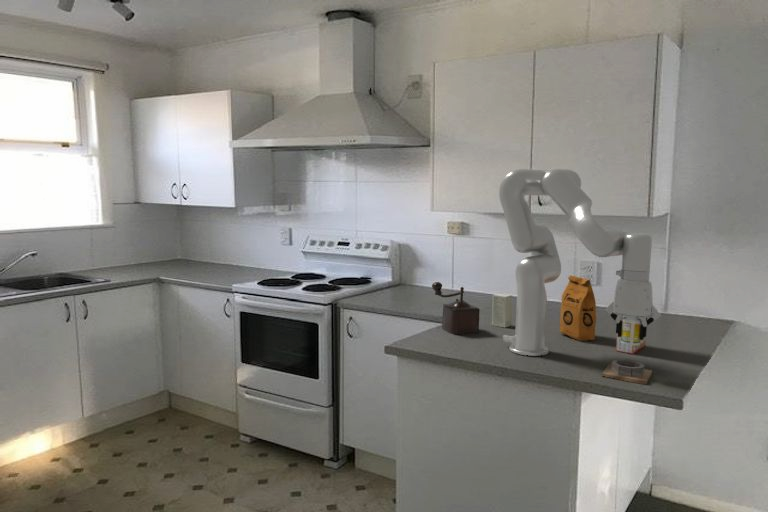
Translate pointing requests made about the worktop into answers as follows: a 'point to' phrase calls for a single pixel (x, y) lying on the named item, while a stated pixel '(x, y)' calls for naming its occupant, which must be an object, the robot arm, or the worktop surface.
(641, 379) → the socket board
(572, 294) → the coffee package
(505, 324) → the skincare box
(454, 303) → the manual coffee grinder
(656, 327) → the worktop surface
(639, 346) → the cracker box
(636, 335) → the supplement bottle
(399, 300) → the worktop surface
